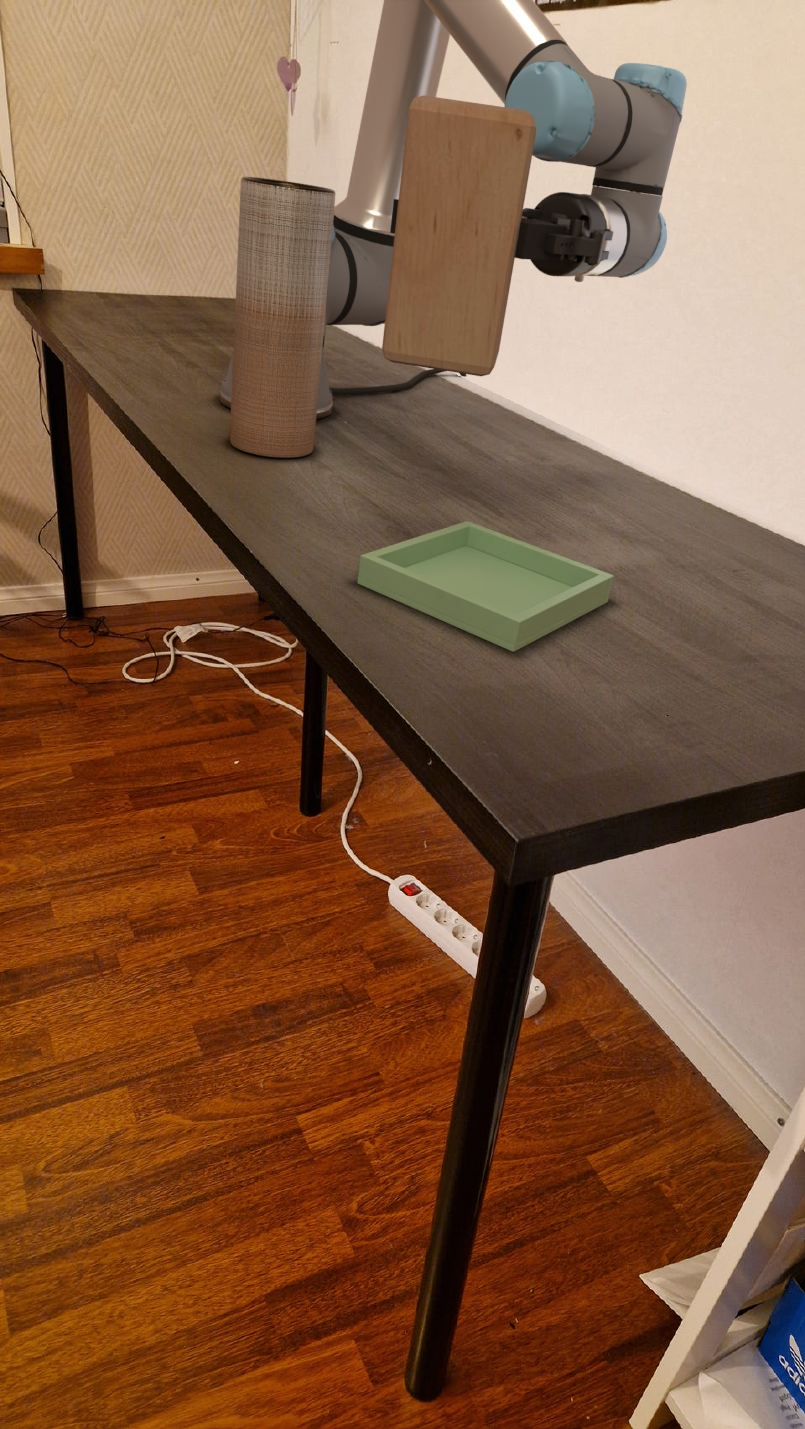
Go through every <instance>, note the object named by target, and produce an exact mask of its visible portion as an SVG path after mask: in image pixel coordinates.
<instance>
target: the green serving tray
mask: <svg viewBox="0 0 805 1429" xmlns="http://www.w3.org/2000/svg"><path fill="white" fill-rule="evenodd" d="M614 579H615V575H613V574H611V573H609V572H606V571H603V570H600V569H598V568H595V567H592V566H590V565H587V564H585V563H582V562H579V561H575V560H573V559H570V558H568V557H565V556H562V555H560V554H557V553H555V552H552V551H550V550H546V549H545V548H544V549H543V548H541V547H538V546H536V545H533V544H531V543H529V542H525V541H523V540H519V539H517V538H514V537H511V536H510V535H506V534H503V533H501V532H498V531H495V530H493V529H490V528H487V527H485V526H482V525H479V524H477V523H474V522H471V521H468V520H465V521H462V522H459V523H456V524H454V525H450V526H447V527H444V528H441V529H437V530H434V531H431V532H428V533H425V534H422V535H419V536H415V537H413V538H409V539H407V540H404V541H401V542H397V543H394V544H391V545H388V546H385V547H382V548H379V549H376V550H372V551H369V552H366V553H363V554H360V557H359V565H358V574H357V581H356V582H357V584H358V585H360V586H363V587H365V588H366V589H369V590H372V591H373V592H376V593H377V594H380V595H383V596H385V597H387V598H388V599H389V598H390V599H391V600H394V601H396V602H398V603H401V604H403V605H405V606H407V607H409V608H412V609H415V610H416V611H420V612H421V613H424V614H426V615H428V616H430V617H433V618H435V619H437V620H439V621H442V622H445V623H446V624H448V625H451V626H452V627H453V626H454V627H455V628H458V629H460V630H462V631H465V632H467V633H469V634H471V635H474V636H476V637H478V638H480V639H483V640H485V641H487V642H488V643H489V642H490V643H492V644H494V645H496V646H498V647H501V648H503V649H505V650H508V651H509V652H512V653H515V652H516V651H518V650H520V649H522V648H524V647H526V646H528V645H530V644H531V643H533V642H535V641H537V640H539V639H541V638H543V637H545V636H547V635H548V634H550V633H552V632H554V631H556V630H558V629H560V628H562V627H564V626H565V625H567V624H570V623H571V622H573V621H574V620H577V619H578V618H580V617H582V616H584V615H586V614H588V613H590V612H592V611H595V610H596V609H597V608H599V607H601V606H603V605H605V604H607V603H608V602H609V598H610V593H611V590H612V587H613V583H614Z"/></svg>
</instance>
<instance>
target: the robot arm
mask: <svg viewBox="0 0 805 1429" xmlns="http://www.w3.org/2000/svg"><path fill="white" fill-rule="evenodd" d="M451 37H452V39H453V40H454V41H455V42H456V44H457V45H458V46H459V48H460V49H461V51H462V52H463V53H464V54H465V56H466V57H467V58H468V60H469V61H470V62H471V63H472V65H473V66H474V67H475V68H476V70H477V71H478V72H479V74H480V75H481V76H482V78H483V79H484V80H485V82H486V83H487V84H488V85H489V87H490V88H491V89H492V90H493V92H494V93H495V94H496V96H497V97H498V98H499V100H500V101H501V102H502V103H503V105H504V106H503V107H507V108H513V109H520V110H525V111H527V112H528V113H530V114H531V115H532V116H533V118H534V120H535V126H536V136H535V142H534V147H533V153H532V157H534V158H536V159H538V160H540V161H544V162H548V163H549V162H552V163H566V164H572V165H579V166H585V167H591V168H595V170H594V175H593V180H592V188H591V192H590V194H587V193H576V192H575V193H574V192H567V191H559V192H554V193H551V194H549V195H547V196H545V197H544V198H543V199H541V200H540V201H539V202H538V204H536V205H535V207H534V208H529V207H523V212H522V218H521V222H520V228H519V234H518V240H517V246H516V252H515V257H514V258H515V259H520V260H530V262H531V264H532V265H533V266H534V267H535V268H536V269H537V270H538V271H539V272H540V273H542V274H544V275H547V276H550V277H574V282H576V283H582V282H584V279H585V276H586V277H604V278H605V277H606V278H607V277H611V278H620V279H622V278H623V279H624V278H627V277H630V276H636V275H640V274H642V273H644V272H646V271H648V270H649V269H651V268H652V267H654V265H655V264H656V263H657V262H658V261H659V260H660V258H661V257H662V255H663V252H664V251H665V249H666V245H667V241H668V230H667V224H666V219H665V217H664V216H663V213H662V212H660V209H661V205H662V201H663V194H664V188H665V186H666V181H667V178H668V174H669V169H670V165H671V161H672V157H673V154H674V151H675V150H674V149H675V145H676V142H677V138H678V132H679V130H680V125H681V123H682V121H683V120H682V119H683V109H684V108H683V107H684V104H685V103H684V102H685V98H686V92H687V86H688V83H687V78H686V75H685V74H684V73H683V72H681V71H680V70H678V69H675V68H672V67H666V66H665V67H664V66H662V65H656V64H649V63H638V62H626V63H622V64H621V65H619V66H618V67H617V69H616V70H615V72H614V76H613V78H609V77H606V76H602V75H600V74H595V73H593V72H592V71H590V70H589V69H588V67H587V66H586V65H585V64H584V63H583V61H582V60H581V59H580V58H579V57H578V55H577V54H576V53H575V52H574V51H573V49H572V48H571V47H570V45H568V42H567V41H566V40H565V38H564V37H563V36H562V35H561V34H560V32H559V31H558V30H557V29H556V27H555V26H554V25H553V23H552V22H551V21H550V20H549V19H548V17H547V16H546V15H545V13H544V12H543V11H542V10H541V8H540V7H539V6H538V5H537V4H536V2H535V1H534V0H383V4H382V9H381V14H380V20H379V25H378V31H377V35H376V41H375V46H374V50H373V55H372V62H371V66H370V72H369V77H368V83H367V86H366V93H365V98H364V104H363V109H362V114H361V119H360V125H359V130H358V135H357V139H356V140H357V141H356V145H355V150H354V156H353V161H352V167H351V172H350V176H349V182H348V188H347V193H346V196H345V198H344V199H342V201H340V202H339V203H337V204H336V205H335V206H334V218H333V229H332V241H331V253H330V264H329V276H328V287H327V299H326V310H325V322H324V333H323V345H322V356H321V368H320V379H319V391H318V403H317V414H316V420H318V419H323V418H326V417H328V416H330V415H331V414H332V412H333V411H332V410H333V402H334V401H333V395H340V396H341V395H342V396H343V395H363V394H364V395H365V394H376V393H377V394H378V393H387V392H396V391H401V390H404V389H408V388H411V387H413V386H414V385H415V384H416V383H418V382H419V381H421V380H422V379H423V378H425V377H427V376H433V375H437V374H441V373H445V372H446V371H444V370H438V369H432V368H429V369H426V370H423V371H421V372H419V373H418V374H416V375H415V376H413V377H412V378H411V379H410V380H408V381H406V382H402V383H396V384H387V385H376V386H363V387H330V384H329V376H328V370H327V364H326V360H325V359H326V358H325V353H324V352H325V339H326V338H325V337H326V330H327V329H326V328H327V326H364V327H377V326H380V325H385V318H386V309H387V300H388V291H389V282H390V273H391V264H392V255H393V246H394V237H395V228H396V219H397V210H398V201H399V192H400V183H401V174H402V165H403V156H404V147H405V138H406V129H407V120H408V111H409V107H410V105H411V103H412V101H413V99H414V98H417V97H420V96H423V95H424V96H431V97H437V95H438V91H439V86H440V81H441V77H442V72H443V68H444V63H445V59H446V55H447V51H448V46H449V42H450V38H451ZM233 351H234V349H233ZM233 351H232V353H231V356H230V358H229V359H230V360H229V362H228V366H227V370H226V374H225V377H223V378H222V380H221V384H220V389H219V401H220V403H222V405H223V406H225V407H227V408H229V409H231V398H232V375H233ZM459 375H460V377H467V375H468V374H463V373H459Z"/></svg>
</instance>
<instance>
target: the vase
mask: <svg viewBox="0 0 805 1429" xmlns="http://www.w3.org/2000/svg"><path fill="white" fill-rule="evenodd" d="M239 192H240V193H239V211H238V212H239V215H238V237H237V258H236V260H237V261H236V262H237V263H236V285H235V304H234V305H235V306H234V307H235V310H234V327H233V328H234V329H233V330H234V331H233V350H234V351H232V353H233V375H232V398H231V408H230V421H229V422H230V423H229V436H230V438H229V442H230V444H231V446H232V447H233V448H235V449H236V450H238V451H241V452H243V453H246V454H249V455H254V456H257V457H263V458H269V459H283V460H284V459H299V458H303V457H307V456H309V455H311V453H313V450H314V444H315V436H316V426H317V425H316V423H317V419H316V414H317V403H318V391H319V379H320V368H321V356H322V345H323V333H324V322H325V310H326V299H327V287H328V276H329V264H330V253H331V241H332V229H333V218H334V207H335V206H336V205H335V204H336V191H335V190H334V189H332V188H328V187H322V186H318V185H312V184H306V183H300V182H294V181H287V180H280V179H274V178H273V179H272V178H264V177H257V176H256V177H254V176H242V177H241V179H240V191H239Z"/></svg>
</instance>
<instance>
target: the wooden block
mask: <svg viewBox="0 0 805 1429" xmlns="http://www.w3.org/2000/svg"><path fill="white" fill-rule="evenodd" d="M535 136H536V126H535V120H534V118H533V116H532V115H531V114H530V113H528V112H527V111H525V110H520V109H513V108H507V107H504V106H499V105H494V104H493V105H492V104H484V103H478V102H471V101H464V100H458V99H452V98H444V97H438V96H436V97H431V96H424V95H423V96H420V97H417V98H414V99H413V101H412V103H411V105H410V107H409V111H408V120H407V129H406V138H405V147H404V156H403V165H402V174H401V183H400V192H399V201H398V210H397V219H396V228H395V237H394V246H393V255H392V264H391V273H390V282H389V291H388V300H387V309H386V318H385V324H384V328H383V335H382V336H383V337H382V345H381V351H382V354H383V357H384V359H386V360H388V361H389V362H391V363H394V364H400V365H408V366H413V367H420V368H425V369H426V368H427V369H438V370H444V371H445V372H452V373H457V374H460V373H463V374H466V375H470V376H476V377H485V376H489V375H491V373H492V372H493V370H494V368H495V366H496V363H497V359H498V356H499V352H500V347H501V341H502V337H503V336H502V335H503V329H504V323H505V317H506V311H507V306H508V300H509V295H510V288H511V282H512V276H513V271H514V265H515V259H516V258H514V257H515V252H516V246H517V240H518V234H519V228H520V222H521V218H522V212H523V209H524V205H525V200H526V194H527V189H528V182H529V177H530V170H531V164H532V158H533V156H532V153H533V147H534V142H535Z"/></svg>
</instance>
